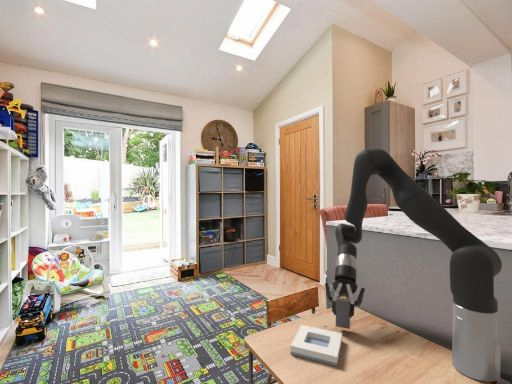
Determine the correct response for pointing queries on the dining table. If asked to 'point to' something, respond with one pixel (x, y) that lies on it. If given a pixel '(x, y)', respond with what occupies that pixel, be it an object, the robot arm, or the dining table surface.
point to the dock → (317, 344)
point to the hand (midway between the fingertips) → (342, 315)
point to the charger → (342, 312)
